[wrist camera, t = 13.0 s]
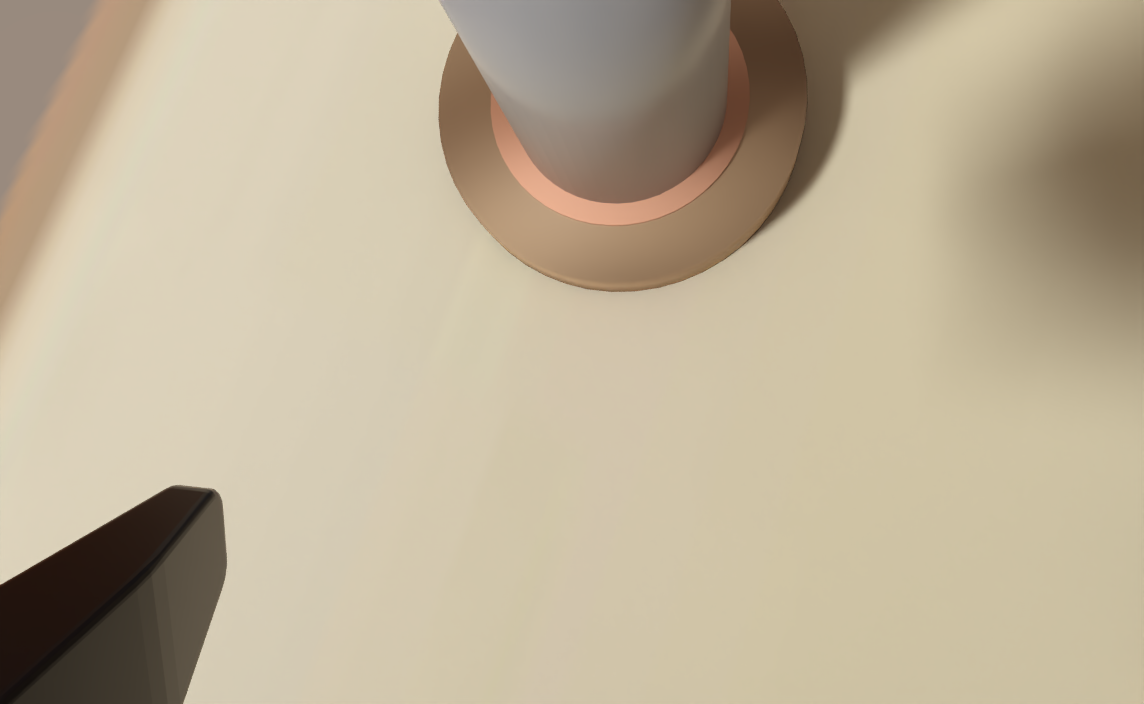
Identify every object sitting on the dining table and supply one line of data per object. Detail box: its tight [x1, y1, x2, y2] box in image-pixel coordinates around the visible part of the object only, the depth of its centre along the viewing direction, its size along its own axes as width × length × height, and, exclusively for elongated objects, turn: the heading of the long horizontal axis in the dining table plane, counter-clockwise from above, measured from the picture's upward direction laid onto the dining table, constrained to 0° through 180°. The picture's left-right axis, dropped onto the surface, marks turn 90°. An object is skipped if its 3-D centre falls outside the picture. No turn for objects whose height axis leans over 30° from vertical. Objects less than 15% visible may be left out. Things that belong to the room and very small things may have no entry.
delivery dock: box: [439, 0, 807, 292], centre depth 22 cm, size 8×8×1 cm
